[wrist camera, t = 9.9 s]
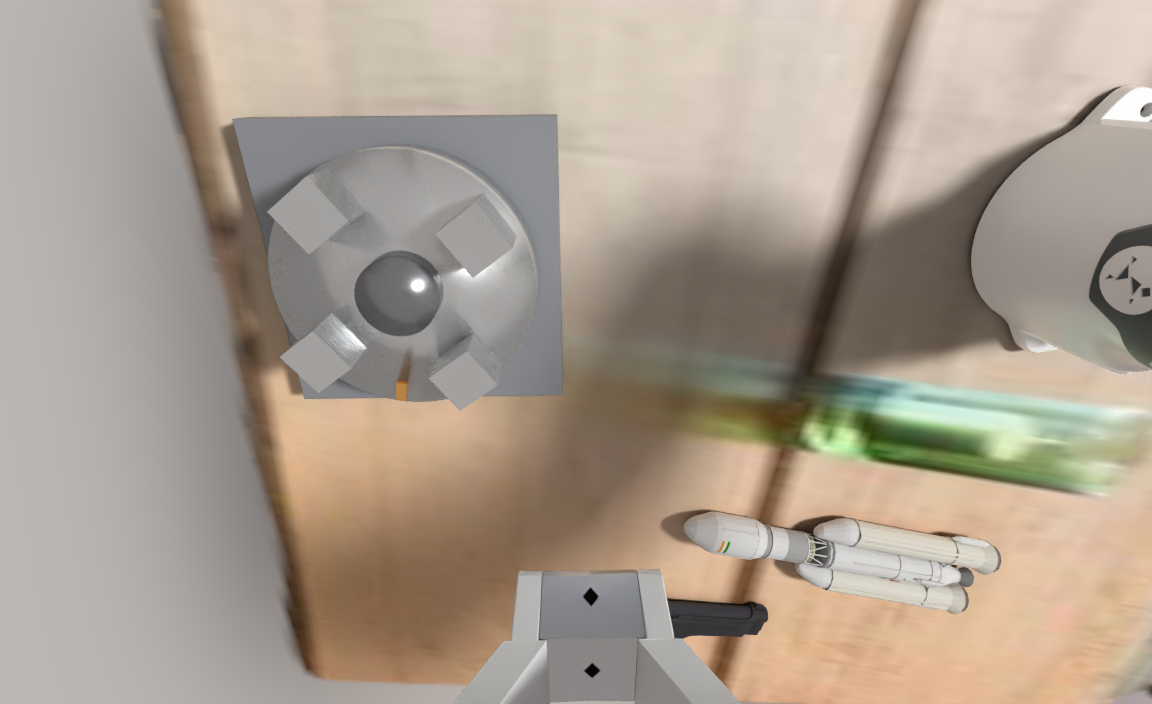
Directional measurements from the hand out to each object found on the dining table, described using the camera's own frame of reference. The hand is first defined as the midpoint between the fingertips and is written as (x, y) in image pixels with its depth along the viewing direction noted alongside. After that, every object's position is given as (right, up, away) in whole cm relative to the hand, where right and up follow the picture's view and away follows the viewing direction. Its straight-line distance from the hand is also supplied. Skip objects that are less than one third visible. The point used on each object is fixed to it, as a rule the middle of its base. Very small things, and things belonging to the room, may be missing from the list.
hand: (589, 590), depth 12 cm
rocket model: (+24, -13, +42) cm, 50 cm away
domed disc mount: (-11, +11, +27) cm, 31 cm away
